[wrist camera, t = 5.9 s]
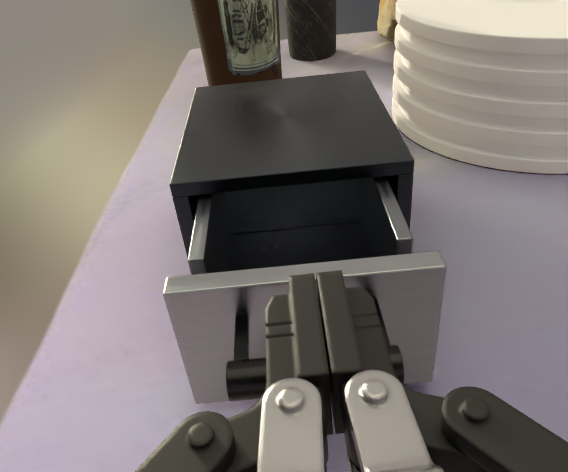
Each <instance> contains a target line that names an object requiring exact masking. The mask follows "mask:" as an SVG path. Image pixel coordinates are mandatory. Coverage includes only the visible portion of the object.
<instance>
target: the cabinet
mask: <svg viewBox="0 0 568 472" xmlns="http://www.w3.org/2000/svg"><path fill="white" fill-rule="evenodd" d="M413 172H414V159H413V157H412V155H411V153H410V152H409V150H408V148H407V146H406V144H405V142H404V141H403V139H402V137H401V135H400V133H399V132H398V130H397V128H396V126H395V124H394V123H393V121H392V119H391V117H390V115H389V113H388V112H387V110H386V108H385V106H384V104H383V103H382V101H381V99H380V97H379V95H378V94H377V92H376V90H375V88H374V86H373V84H372V83H371V81H370V79H369V77H368V75H367V74H366V72H365V71H355V72H345V73H335V74H326V75H316V76H306V77H296V78H286V79H277V80H267V81H257V82H247V83H238V84H228V85H218V86H208V87H198V88H195V92H194V96H193V99H192V103H191V107H190V111H189V114H188V118H187V122H186V125H185V129H184V133H183V137H182V140H181V144H180V148H179V151H178V155H177V159H176V163H175V166H174V170H173V174H172V177H171V181H170V189H171V193H172V196H173V201H174V205H175V209H176V213H177V217H178V221H179V225H180V229H181V233H182V237H183V241H184V245H185V249H186V253H187V257H189V251H190V245H191V239H192V233H193V227H194V221H195V215H196V210H197V204H198V198H199V195H202V194H212V193H222V192H232V191H242V190H252V189H262V188H272V187H282V186H292V185H302V184H312V183H322V182H332V181H342V180H352V179H362V178H373V177H383V176H386V177H387V179H388V182H389V184H390V186H391V188H392V191H393V193H394V195H395V198H396V200H397V202H398V205H399V207H400V209H401V212H402V214H403V216H404V219H405V221H406V223H407V226H408V228H409V230H410V217H411V202H412V187H413Z"/></svg>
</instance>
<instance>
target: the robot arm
mask: <svg viewBox="0 0 568 472" xmlns="http://www.w3.org/2000/svg"><path fill="white" fill-rule="evenodd" d="M316 282H317V290H316V283H315V276H314V273H310V274H300V275H291V276H289V285H290V294H284V295H275V296H272V297H271V299H270V301H269V303H268V304H267V306H266V308H265V326H266V327H265V334H266V374H267V384H266V389H265V392H264V394H263V396H262V398H261V399H260V400H259V402H258V403H257V404H256V405H254V406H253V407H252V408H250V409H249V410H247V411H245V412H243V413H241V414H238V415H236V416H233V417H231V418H229V419H226V418H225V417H224V416H223V415H221V414H219V413H216V412H209V411H207V412H199V413H196V414H193V415H191V416H189V417H188V418H186V419H185V420H183V421H182V422H181V423H180V424H179V425H178V426H177V427H176V428H175V429H174V430H173V432H172V433H171V434H170V435H169V436H168V437H167V438H166V439H165V440H164V441H163V442H162V443H161V444H160V445H159V446H158V447H157V449H156V450H155V451H154V452H153V453H152V454H151V455H150V456H149V457H148V458H147V459H146V460H145V461H144V462H143V463H142V464H141V466H140V467H139V468H138V469H137V470H136V471H135V472H327V462H328V443H327V435H330V434H333V426H332V412H333V419H334V426H335V432H336V434H338V433H344V434H345V440H346V446H347V461H348V467H349V471H350V472H568V442H566V441H565V440H563V439H562V438H560V437H559V436H557V435H555V434H554V433H552V432H551V431H549V430H548V429H546V428H545V427H543V426H542V425H540V424H538V423H537V422H535V421H534V420H532V419H531V418H529V417H528V416H526V415H524V414H523V413H521V412H520V411H518V410H517V409H515V408H514V407H512V406H511V405H509V404H507V403H506V402H504V401H503V400H501V399H500V398H498V397H497V396H495V395H493V394H492V393H490V392H488V391H486V390H484V389H481V388H477V387H460V388H457V389H455V390H453V391H451V392H450V393H449V394H448V395H447V396H446V397H445V398H443V397H438V396H432V395H427V394H423V393H419V392H416V391H414V390H412V389H410V388H408V387H407V386H405V385H404V384H403V383H402V382H401V381H400V380H399V379H398V378H397V376H396V374H395V373H394V370H393V367H392V363H391V360H390V356H389V353H388V349H387V345H386V342H385V338H384V335H383V331H382V328H381V324H380V320H379V317H378V315H377V310H376V306H375V303H374V299H373V297H372V296H371V295H370V294H369V293H368V292H367V291H366V290H365V289H364V288H363V287H362V286H361V287H351V288H346V287H345V283H344V278H343V274H342V271H341V270H338V271H328V272H319V273H316ZM331 405H332V411H331Z"/></svg>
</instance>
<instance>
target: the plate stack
mask: <svg viewBox="0 0 568 472" xmlns="http://www.w3.org/2000/svg"><path fill="white" fill-rule="evenodd" d="M395 18H396V21H397V23H398V24H397V26H396V28H395V39H394V44H395V47H396V50H395V53H394V66H393V68H394V72H395V74H394V76H393V95H394V96H393V99H392V117H393V120H394V122H395V124H396V126H397V127H398V128H399V129H400V131H401V132H402V133H403V134H405V135H406V136H407V137H408V138H410V139H411V140H413V141H414V142H416V143H417V144H419V145H421V146H423V147H425V148H427V149H429V150H431V151H433V152H436V153H438V154H441V155H444V156H446V157H449V158H452V159H456V160H459V161H463V162H466V163H470V164H475V165H479V166H484V167H489V168H495V169H501V170H508V171H517V172H528V173H545V174H568V0H397V2H396V13H395Z"/></svg>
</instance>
